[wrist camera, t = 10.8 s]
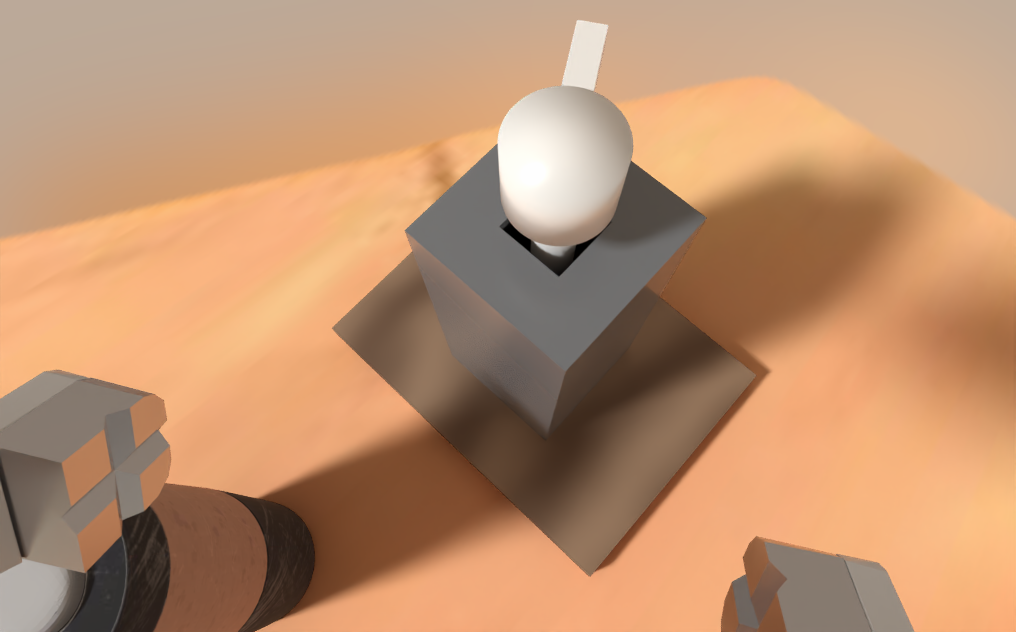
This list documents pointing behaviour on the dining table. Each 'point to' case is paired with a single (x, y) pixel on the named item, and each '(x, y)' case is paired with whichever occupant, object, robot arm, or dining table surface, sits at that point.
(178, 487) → the travel mug
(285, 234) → the dining table surface
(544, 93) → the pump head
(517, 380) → the grey upright block
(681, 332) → the base plate
